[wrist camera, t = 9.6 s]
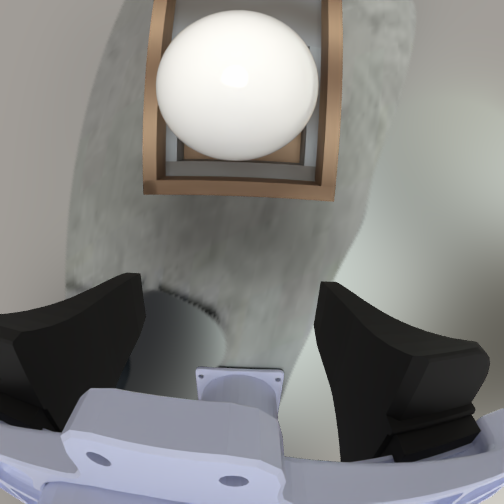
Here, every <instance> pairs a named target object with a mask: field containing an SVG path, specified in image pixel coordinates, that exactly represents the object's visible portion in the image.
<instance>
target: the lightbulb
mask: <svg viewBox="0 0 504 504" xmlns="http://www.w3.org/2000/svg"><path fill="white" fill-rule="evenodd" d="M318 91H319V79H318V71H317V67H316V63H315V60H314V58H313V56H312V53H311V51H310V50H309V48H308V46H307V45H306V43H305V42H304V41H303V39H302V38H301V37H300V36H299V35H298V34H297V33H296V32H295V31H294V30H293V29H292V28H290V27H289V26H288V25H286V24H285V23H283V22H282V21H280V20H278V19H276V18H274V17H272V16H269V15H266V14H263V13H260V12H255V11H249V10H228V11H222V12H217V13H213V14H210V15H208V16H205V17H203V18H201V19H199V20H197V21H195V22H193V23H192V24H190V25H189V26H187V27H186V28H185V29H183V30H182V31H181V32H180V33H179V34H178V35H177V36H176V37H175V38H174V39H173V40H172V42H171V43H170V44H169V46H168V47H167V49H166V50H165V52H164V54H163V56H162V58H161V61H160V64H159V67H158V71H157V76H156V96H157V102H158V106H159V109H160V112H161V114H162V116H163V118H164V120H165V122H166V124H167V125H168V127H169V128H170V130H171V131H172V132H173V133H174V134H175V136H176V137H177V138H178V139H180V140H181V141H182V142H183V143H184V144H186V145H187V146H188V147H190V148H191V149H193V150H195V151H197V152H199V153H201V154H203V155H206V156H209V157H212V158H216V159H220V160H228V161H244V160H252V159H257V158H260V157H264V156H266V155H269V154H271V153H274V152H276V151H278V150H279V149H281V148H283V147H284V146H286V145H287V144H289V143H290V142H291V141H292V140H293V139H295V138H296V137H297V136H298V135H299V134H300V132H301V131H302V130H303V129H304V127H305V126H306V125H307V123H308V121H309V120H310V118H311V116H312V114H313V111H314V109H315V106H316V102H317V98H318Z"/></svg>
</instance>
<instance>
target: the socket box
mask: <svg viewBox="0 0 504 504" xmlns="http://www.w3.org/2000/svg"><path fill="white" fill-rule="evenodd" d="M228 10H249V11H255V12H260V13H263V14H266V15H269V16H272V17H274V18H276V19H278V20H280V21H282V22H283V23H285V24H286V25H288V26H289V27H290V28H292V29H293V30H294V31H295V32H296V33H297V34H298V35H299V36H300V37H301V38H302V39H303V41H304V42H305V43H306V45H307V46H308V48H309V50H310V51H311V53H312V56H313V58H314V60H315V63H316V67H317V71H318V79H319V91H318V98H317V102H316V106H315V109H314V111H313V114H312V116H311V118H310V120H309V121H308V123H307V125H306V126H305V127H304V129H303V130H302V131H301V132H300V134H299V135H298V136H297V137H296V138H295V139H293V140H292V141H291V142H290V143H289V144H287V145H286V146H284V147H283V148H281V149H279V150H278V151H276V152H274V153H271V154H269V155H266V156H264V157H260V158H257V159H252V160H244V161H228V160H220V159H216V158H212V157H209V156H206V155H203V154H201V153H199V152H197V151H195V150H193V149H191V148H190V147H188V146H187V145H186V144H184V143H183V142H182V141H181V140H180V139H178V138H177V137H176V136H175V134H174V133H173V132H172V131H171V130H170V128H169V127H168V125H167V124H166V122H165V120H164V118H163V116H162V114H161V112H160V109H159V106H158V102H157V96H156V76H157V71H158V67H159V64H160V61H161V58H162V56H163V54H164V52H165V50H166V49H167V47H168V46H169V44H170V43H171V42H172V40H173V39H174V38H175V37H176V36H177V35H178V34H179V33H180V32H181V31H182V30H183V29H185V28H186V27H187V26H189V25H190V24H192V23H193V22H195V21H197V20H199V19H201V18H203V17H205V16H208V15H210V14H213V13H217V12H222V11H228ZM342 64H343V27H342V0H154V4H153V11H152V18H151V26H150V34H149V43H148V52H147V63H146V76H145V92H144V113H143V195H222V196H250V197H271V198H290V199H305V200H320V201H333V202H334V196H335V186H336V175H337V164H338V151H339V137H340V120H341V100H342Z"/></svg>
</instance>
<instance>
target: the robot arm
mask: <svg viewBox="0 0 504 504" xmlns="http://www.w3.org/2000/svg"><path fill="white" fill-rule="evenodd" d="M145 318H146V314H145V307H144V299H143V292H142V284H141V275H140V274H139V273H124V274H121V275H119V276H116V277H114V278H112V279H110V280H108V281H106V282H104V283H102V284H100V285H98V286H96V287H93V288H91V289H89V290H87V291H85V292H83V293H80V294H78V295H76V296H74V297H71V298H69V299H66V300H64V301H61V302H58V303H55V304H52V305H48V306H45V307H41V308H36V309H32V310H28V311H23V312H17V313H9V314H0V488H2V489H3V490H4V491H6V492H8V493H9V494H11V495H12V496H14V497H15V498H17V499H18V500H20V501H22V502H23V503H25V504H479V503H481V502H483V501H485V500H486V499H488V498H490V497H491V496H493V495H494V494H495V493H496V492H497V491H499V490H500V489H501V488H502V487H503V486H504V408H501V409H499V410H496V411H494V412H491V413H489V414H486V415H484V416H482V417H480V418H479V419H478V420H477V421H475V420H474V418H473V416H472V415H471V414H473V413H474V412H475V407H474V406H473V404H472V400H473V399H474V397H475V396H476V394H477V392H478V391H479V389H480V387H481V386H482V384H483V382H484V380H485V378H486V376H487V374H488V370H489V366H490V360H489V356H488V355H487V353H486V352H485V351H484V350H483V349H482V347H481V346H480V345H479V344H478V343H477V342H474V341H467V340H461V339H454V338H449V337H445V336H441V335H437V334H434V333H430V332H427V331H424V330H421V329H419V328H416V327H413V326H410V325H408V324H406V323H403V322H401V321H399V320H397V319H395V318H393V317H391V316H389V315H387V314H385V313H384V312H382V311H380V310H378V309H377V308H375V307H374V306H372V305H370V304H369V303H367V302H366V301H364V300H363V299H361V298H360V297H358V296H357V295H356V294H354V293H353V292H351V291H350V290H348V289H347V288H345V287H344V286H342V285H341V284H339V283H337V282H321V284H320V290H319V297H318V303H317V309H316V315H315V321H314V329H315V336H316V341H317V346H318V349H319V352H320V356H321V359H322V362H323V365H324V368H325V371H326V374H327V378H328V381H329V384H330V387H331V391H332V395H333V401H334V407H335V413H336V420H337V428H338V436H339V446H340V457H341V462H333V461H321V460H311V459H301V458H294V457H286V456H284V448H283V436H282V432H281V429H280V425H279V422H278V410H279V404H280V398H281V392H282V386H283V379H284V372H283V371H282V370H268V369H236V368H217V367H203V366H200V367H197V368H196V382H197V392H198V400H192V399H182V398H174V397H165V396H158V395H151V394H144V393H138V392H132V391H126V390H121V389H115V388H116V385H117V382H118V380H119V377H120V375H121V373H122V371H123V369H124V367H125V364H126V362H127V360H128V358H129V356H130V354H131V352H132V350H133V348H134V346H135V344H136V342H137V340H138V338H139V336H140V333H141V331H142V328H143V324H144V321H145ZM201 375H203V376H201ZM276 378H279V379H276Z"/></svg>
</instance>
